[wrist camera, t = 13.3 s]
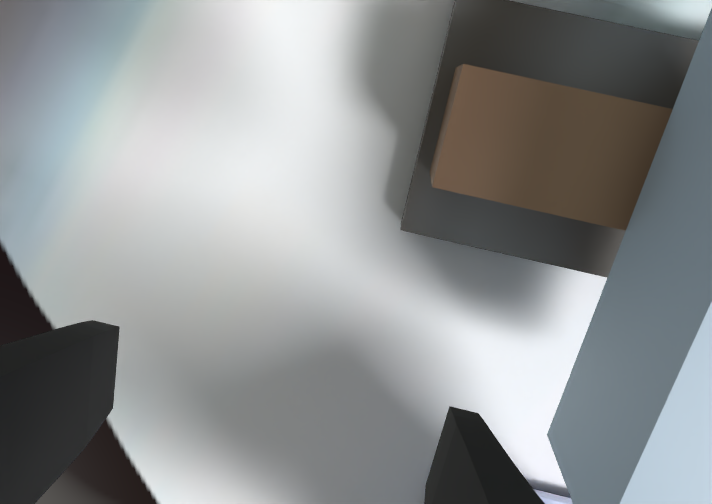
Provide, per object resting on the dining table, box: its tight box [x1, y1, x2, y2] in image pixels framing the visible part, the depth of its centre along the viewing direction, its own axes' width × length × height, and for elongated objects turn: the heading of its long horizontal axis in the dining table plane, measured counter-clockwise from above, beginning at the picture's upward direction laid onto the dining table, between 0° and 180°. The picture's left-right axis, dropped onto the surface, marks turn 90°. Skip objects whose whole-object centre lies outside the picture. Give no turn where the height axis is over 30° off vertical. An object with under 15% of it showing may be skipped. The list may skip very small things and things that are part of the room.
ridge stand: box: [401, 0, 699, 278], centre depth 17 cm, size 16×8×4 cm, turn 78°
